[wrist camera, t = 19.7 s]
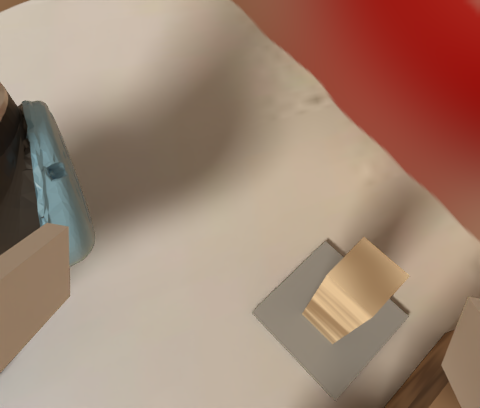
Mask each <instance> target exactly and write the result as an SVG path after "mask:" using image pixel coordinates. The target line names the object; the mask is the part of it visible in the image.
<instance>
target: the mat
mask: <svg viewBox="0 0 480 408" xmlns="http://www.w3.org/2000/svg"><path fill="white" fill-rule="evenodd" d="M343 258H344V257H343V256H342V255H341V254H340V253H338V252H337V251H336V250H335V249H334V248H333V247H332V246H331V245H330V244H328V243H327V242H326V241H325V242H324V243H323V244H322V245H321V246H320V247H319V248H318V249H317V250H316V251H314V252H313V253H312V254H311V255H310V256H309V257H308V258H307V259H306V260H305V261H304V262H303V263H302V264H301V265H300V266H299V267H298V268H297V269H296V270H295V271H294V272H293V273H292V274H291V275H290V276H289V277H288V278H287V279H286V280H285V281H283V282H282V283H281V284H280V285H279V286H278V287H277V288H276V289H275V290H274V291H273V292H272V293H271V294H270V295H269V296H268V297H267V298H266V299H265V300H264V301H263V302H262V303H261V304H260V305H259V306H258V307H257V308H256V309H255V310H254V311H253V312H252V314H253V315H254V316H255V317H256V318H257V319H258V320H259V321H260V322H261V323H262V324H263V325H264V326H265V328H266V329H267V330H268V331H269V332H270V333H271V334H272V335H273V336H274V337H275V338H276V339H277V340H278V341H279V342H280V343H281V345H282V346H283V347H284V348H285V349H286V350H287V351H288V352H289V353H290V354H291V355H292V356H293V357H294V358H295V359H296V360H297V362H298V363H299V364H300V365H301V366H302V367H303V368H304V369H305V370H306V371H307V372H308V373H309V374H310V375H311V376H312V377H313V379H314V380H315V381H316V382H317V383H318V384H319V385H320V386H321V387H322V388H323V389H324V390H325V391H326V392H327V393H328V394H329V396H330V397H331V398H332V399H333V400H334V401H336V400H337V399H338V398H339V396H340V395H341V394H342V393H343V392H344V391H345V390H346V388H347V387H348V386H349V385H350V384H351V383H352V381H353V380H354V379H355V378H356V377H357V376H358V375H359V373H360V372H361V371H362V370H363V369H364V368H365V367H366V365H367V364H368V363H369V362H370V361H371V360H372V358H373V357H374V356H375V355H376V354H377V353H378V352H379V350H380V349H381V348H382V347H383V346H384V345H385V344H386V342H387V341H388V340H389V339H390V338H391V337H392V335H393V334H394V333H395V332H396V331H397V330H398V329H399V327H400V326H401V325H402V324H403V323H404V322H405V320H406V319H407V318H408V317H409V316H408V315H407V314H406V313H405V312H404V311H402V310H401V309H400V308H399V307H398V306H397V305H396V304H395V303H394V302H393V301H391V300H390V299H389V300H388V301H387V302H386V303H385V304H384V305H383V306H382V308H381V309H380V310H379V311H378V312H377V313H376V314H375V315H374V316H373V317H372V318H371V319H369V320H368V321H366V322H365V323H363V324H362V325H360V326H359V327H357V328H356V329H354V330H353V331H351V332H350V333H349V334H347V335H346V336H344V337H343V338H341V339H340V340H338V341H337V342H335V343H334V344H332V343H331V342H330V341H329V340H328V339H327V338H326V337H325V336H324V335H323V334H322V333H321V332H320V331H319V330H318V329H317V328H316V327H315V326H314V325H313V324H312V323H311V322H310V321H309V320H308V319H307V318H305V317H304V316H303V315H302V313H303V311H304V310H305V308H306V307H307V305H308V304H309V302H310V300H311V299H312V297H313V296H314V294H315V293H316V291H317V289H318V288H319V286H320V285H321V283H322V282H323V280H324V278H325V277H326V275H327V274H328V273H329V272H330V271H331V270H332V269H333V268H334V267H335V266H336V265H337V264H338V263H339V262H340V261H341V260H342V259H343Z"/></svg>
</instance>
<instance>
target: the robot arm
mask: <svg viewBox="0 0 480 408" xmlns="http://www.w3.org/2000/svg"><path fill="white" fill-rule="evenodd" d="M94 241H95V233H94V228H93V225H92V221H91V217H90V214H89V210H88V207H87V204H86V201H85V198H84V195H83V192H82V189H81V186H80V183H79V181H78V178H77V175H76V172H75V170H74V167H73V164H72V162H71V159H70V156H69V154H68V151H67V148H66V146H65V143H64V141H63V138H62V136H61V133H60V131H59V128H58V126H57V124H56V122H55V119H54V117H53V115H52V114H51V112H50V111H49V109H48V106H47V105H46V104H45V103H44V102H42V101H33V102H31V101H23V102H22V104H21V105H19V106H17V105H16V104H15V103H14V101H13V100H12V98H11V97H10V95H9V94H8V92H7V91H6V89H5V87H4V86H3V85H2V84H1V83H0V373H1V371H2V370H3V369H4V368H5V367H6V366H7V365H8V364H9V363H10V362H11V360H12V359H13V358H14V357H15V356H16V355H17V354H18V353H19V352H20V351H21V349H22V348H23V347H24V346H25V345H26V344H27V343H28V342H29V341H30V340H31V338H32V337H33V336H34V335H35V334H36V333H37V332H38V331H39V330H40V329H41V327H42V326H43V325H44V324H45V323H46V322H47V321H48V320H49V319H50V318H51V316H52V315H53V314H54V313H55V312H56V311H57V310H58V309H59V308H60V306H61V305H62V304H63V303H64V302H65V301H66V300H67V299H68V298H69V297H70V268H69V267H70V266H72V265H74V264H76V263H78V262H80V261H82V260H83V259H84V258H86V257H87V255H88V254H89V253H90V252H91V250H92V248H93V246H94ZM441 365H442V368H443V370H444V372H445V374H446V376H447V378H448V380H449V382H450V385H451V387H452V389H453V391H454V393H455V395H456V397H457V399H458V401H459V404H460V406H461V408H480V298H475V297H470V296H468V297H467V300H466V303H465V305H464V308H463V310H462V313H461V315H460V318H459V321H458V323H457V326H456V328H455V331H454V333H453V336H452V339H451V341H450V344H449V346H448V349H447V351H446V354H445V357H444V359H443V362H442V364H441Z"/></svg>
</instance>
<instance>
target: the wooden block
mask: <svg viewBox="0 0 480 408" xmlns="http://www.w3.org/2000/svg"><path fill="white" fill-rule="evenodd" d="M408 277H409V275H408V274H407V273H406V272H405V271H403V270H402V269H401V268H400V267H399V266H398V265H396V264H395V263H394V262H393V261H392V260H391V259H389V258H388V257H387V256H386V255H385V254H384V253H382V252H381V251H380V250H379V249H378V248H377V247H375V246H374V245H373V244H372V243H371V242H370V241H368V240H367V239H366V238H365V237H363V238H362V239H361V240H360V241H359V242H358V243H357V244H356V245H355V246H354V247H353V249H352V250H351V251H350V252H349V253H348V254H347V255H346V256H345V257H344V258H343V259H342V260H341V261H340V262H339V263H338V264H337V265H336V266H335V267H334V268H333V269H332V270H331V271H330V272H329V273H328V274H327V275H326V277H325V278H324V280H323V282H322V283H321V285H320V286H319V288H318V289H317V291H316V293H315V294H314V296H313V297H312V299H311V300H310V302H309V304H308V305H307V307H306V308H305V310H304V311H303V313H302V315H303V316H304V317H305V318H307V319H308V320H309V321H310V322H311V323H312V324H313V325H314V326H315V327H316V328H317V329H318V330H319V331H320V332H321V333H322V334H323V335H324V336H325V337H326V338H327V339H328V340H329V341H330V342H331V343H332V344H334V343H335V342H337V341H338V340H340V339H341V338H343V337H344V336H346V335H347V334H349V333H350V332H351V331H353V330H354V329H356V328H357V327H359V326H360V325H362V324H363V323H365V322H366V321H368V320H369V319H371V318H372V317H373V316H374V315H375V314H376V313H377V312H378V311H379V310H380V309H381V308H382V306H383V305H384V304H385V303H386V302H387V301H388V300H389V299H390V297H391V296H392V295H393V294H394V293H395V292H396V291H397V290H398V289H399V287H400V286H401V285H402V284H403V283H404V282H405V281H406V280H407V278H408Z"/></svg>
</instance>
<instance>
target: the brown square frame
mask: <svg viewBox="0 0 480 408" xmlns="http://www.w3.org/2000/svg"><path fill="white" fill-rule="evenodd" d="M454 331H455V330H453V331H450V332H447V333H445V334H444V335H443V336H442V338H441V339H440V340H439V341H438V342H437V344H436V345H435V346H434V347H433V349H432V350H431V351H430V352H429V353H428V355H427V356H426V357H425V358H424V360H423V361H422V362H421V363H420V364H419V366H418V367H417V368H416V369H415V371H414V372H413V373H412V374H411V375H410V377H409V378H408V379H407V380H406V382H405V383H404V384H403V385H402V386H401V388H400V389H399V390H398V391H397V393H396V394H395V395H394V396H393V397H392V399H391V400H390V401H389V402H388V404H387V405H386V406H385V407H384V408H461V406H460V404H459V401H458V399H457V397H456V395H455V393H454V391H453V389H452V387H451V385H450V382H449V380H448V378H447V376H446V374H445V372H444V370H443V368H442V365H441V364H442V362H443V359H444V357H445V354H446V351H447V349H448V346H449V344H450V341H451V339H452V336H453V333H454Z"/></svg>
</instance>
